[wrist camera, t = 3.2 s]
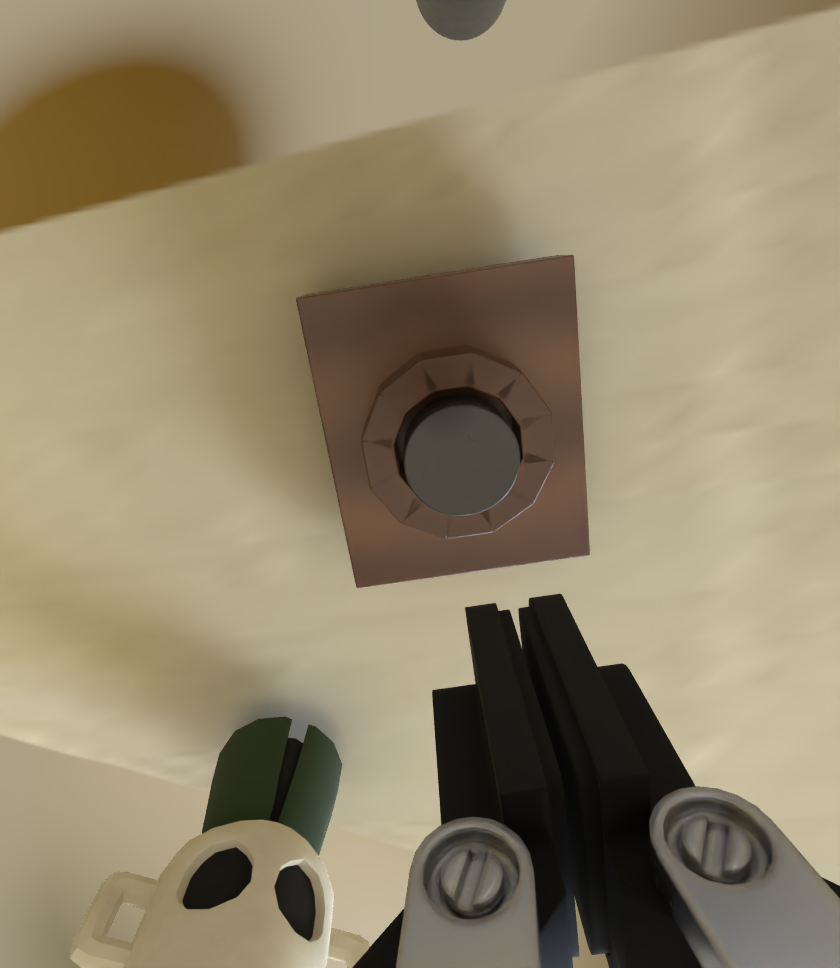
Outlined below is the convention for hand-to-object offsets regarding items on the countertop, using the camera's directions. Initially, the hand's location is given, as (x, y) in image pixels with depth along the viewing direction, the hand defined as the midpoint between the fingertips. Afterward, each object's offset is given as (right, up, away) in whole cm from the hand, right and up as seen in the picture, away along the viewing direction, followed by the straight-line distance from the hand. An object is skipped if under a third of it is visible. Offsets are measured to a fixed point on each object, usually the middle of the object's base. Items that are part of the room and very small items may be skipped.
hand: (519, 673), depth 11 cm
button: (0, +5, +12) cm, 13 cm away
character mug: (-9, -11, +21) cm, 26 cm away
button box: (0, +6, +15) cm, 16 cm away
